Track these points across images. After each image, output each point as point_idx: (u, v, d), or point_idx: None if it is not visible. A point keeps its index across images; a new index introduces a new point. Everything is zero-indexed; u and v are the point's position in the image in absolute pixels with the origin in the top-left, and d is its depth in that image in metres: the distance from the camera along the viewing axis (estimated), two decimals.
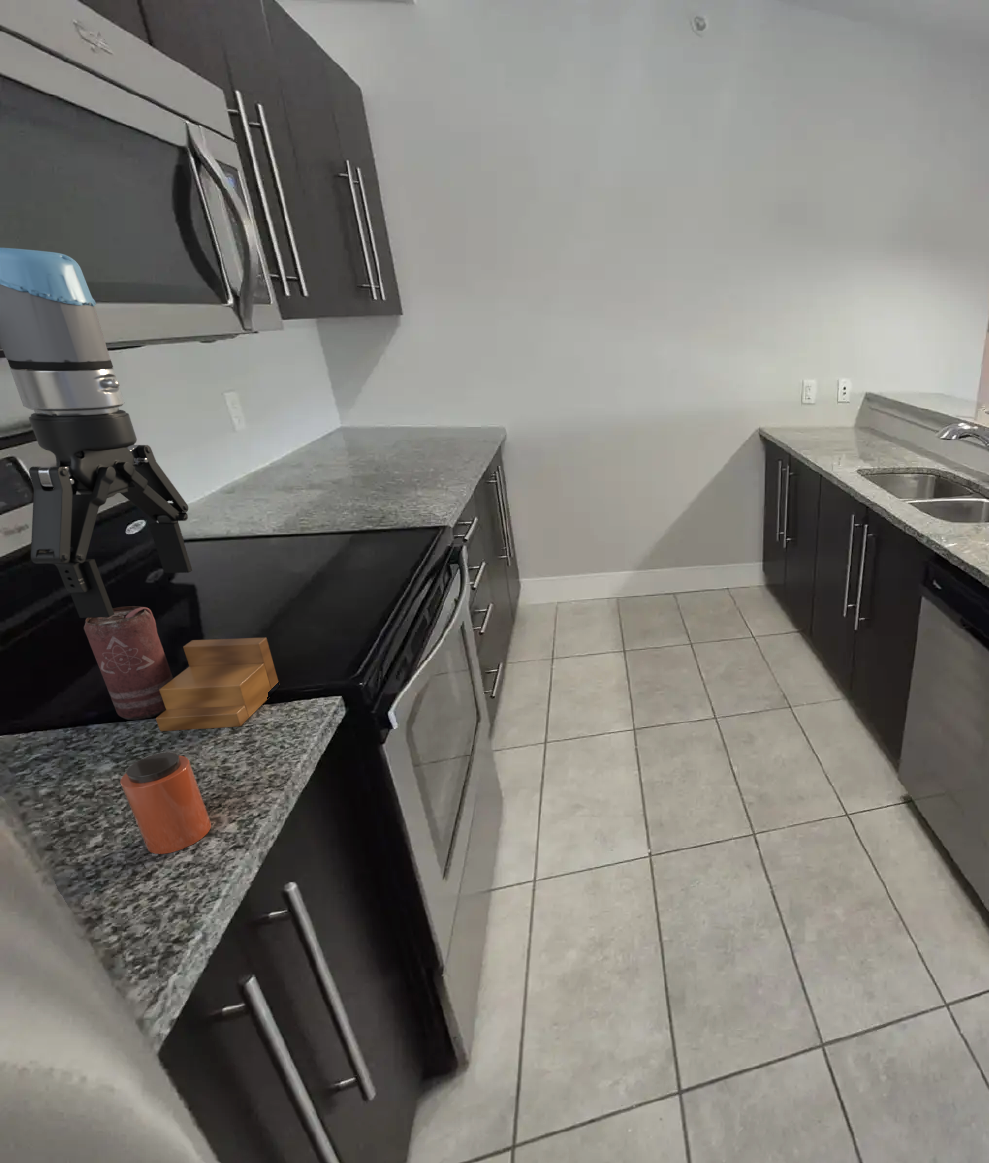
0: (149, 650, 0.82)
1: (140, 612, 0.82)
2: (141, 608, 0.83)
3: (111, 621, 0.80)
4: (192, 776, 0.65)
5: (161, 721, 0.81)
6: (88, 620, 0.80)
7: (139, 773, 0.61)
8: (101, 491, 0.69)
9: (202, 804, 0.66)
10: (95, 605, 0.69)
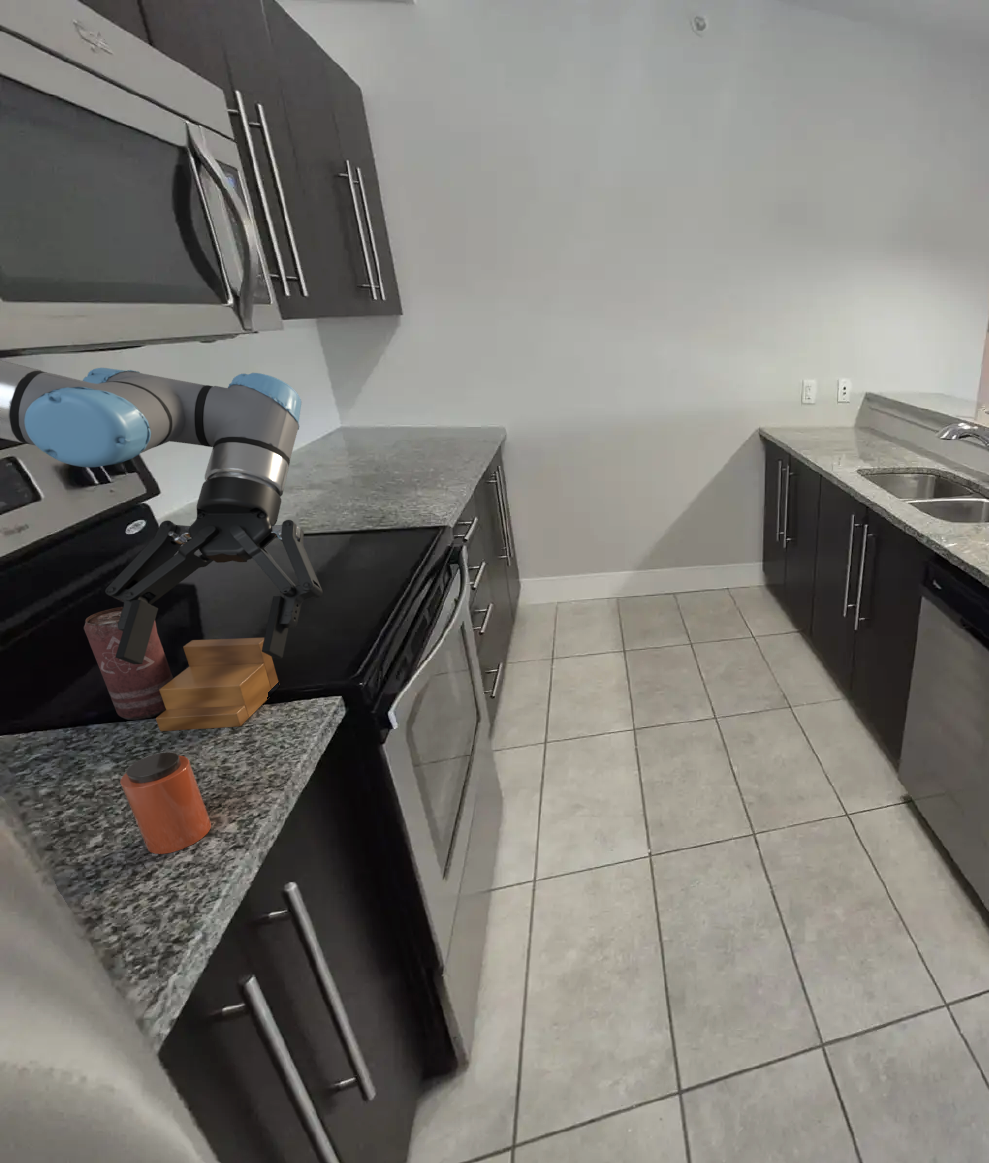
0: (149, 650, 0.82)
1: None
2: None
3: (111, 621, 0.80)
4: (192, 776, 0.65)
5: (161, 721, 0.81)
6: (88, 620, 0.80)
7: (139, 773, 0.61)
8: None
9: (202, 804, 0.66)
10: (280, 643, 0.72)
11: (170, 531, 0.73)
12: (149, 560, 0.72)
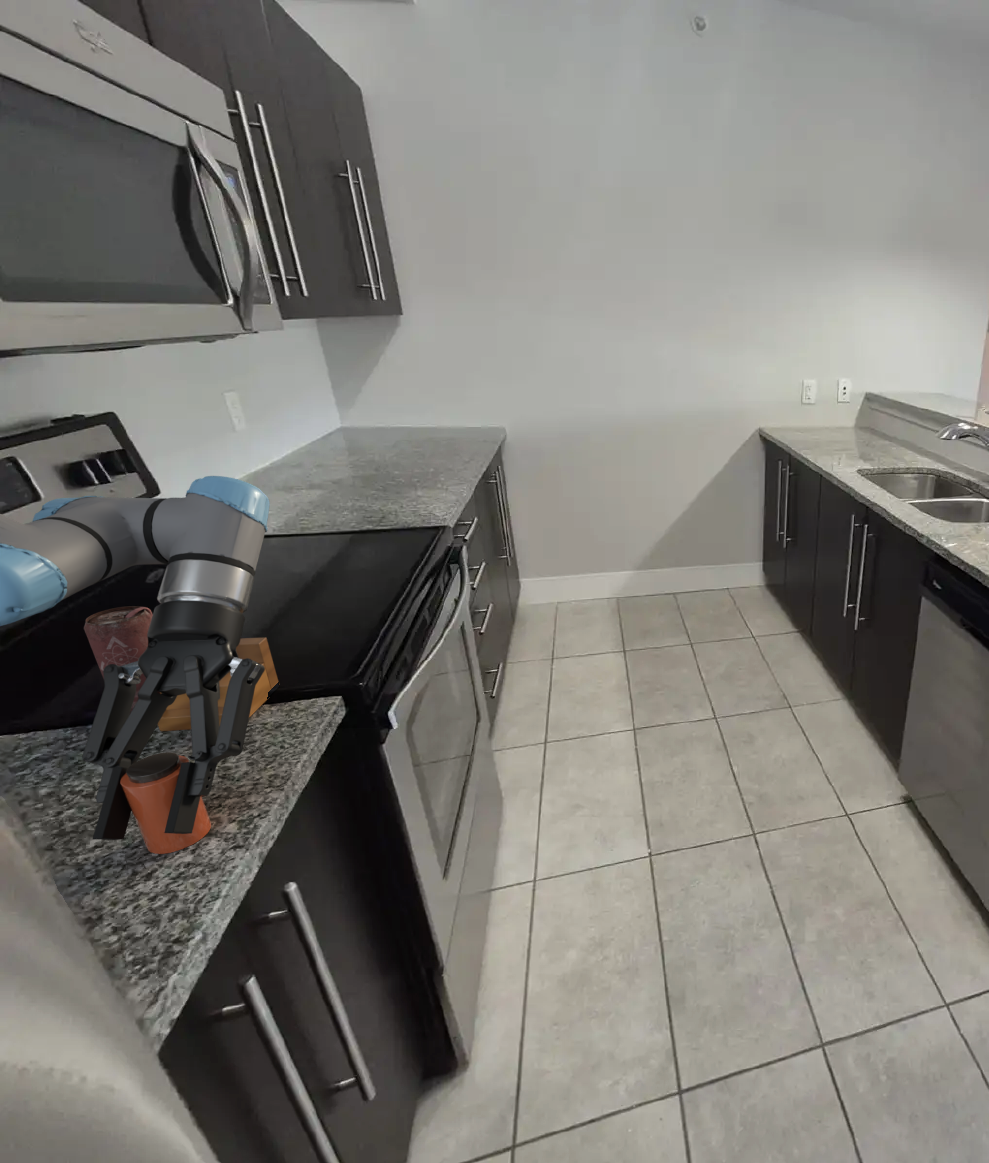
0: None
1: (140, 612, 0.82)
2: (141, 608, 0.83)
3: (111, 621, 0.80)
4: None
5: (161, 721, 0.81)
6: (88, 620, 0.80)
7: (139, 773, 0.61)
8: None
9: (202, 804, 0.66)
10: (190, 817, 0.63)
11: (119, 673, 0.65)
12: (113, 711, 0.64)
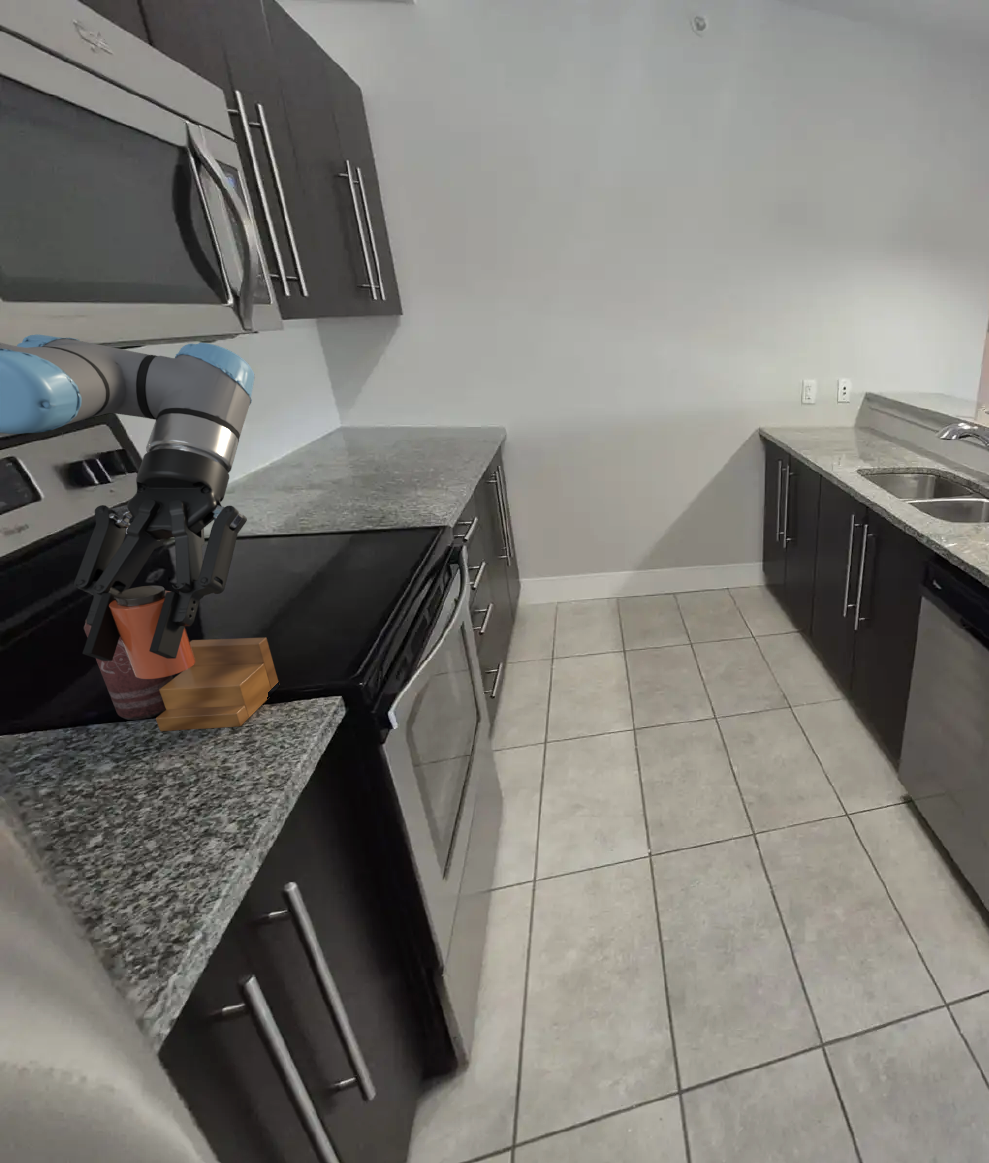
0: None
1: None
2: None
3: None
4: None
5: (161, 721, 0.81)
6: None
7: (126, 597, 0.66)
8: None
9: (186, 638, 0.70)
10: (173, 642, 0.67)
11: (109, 514, 0.70)
12: (103, 546, 0.68)
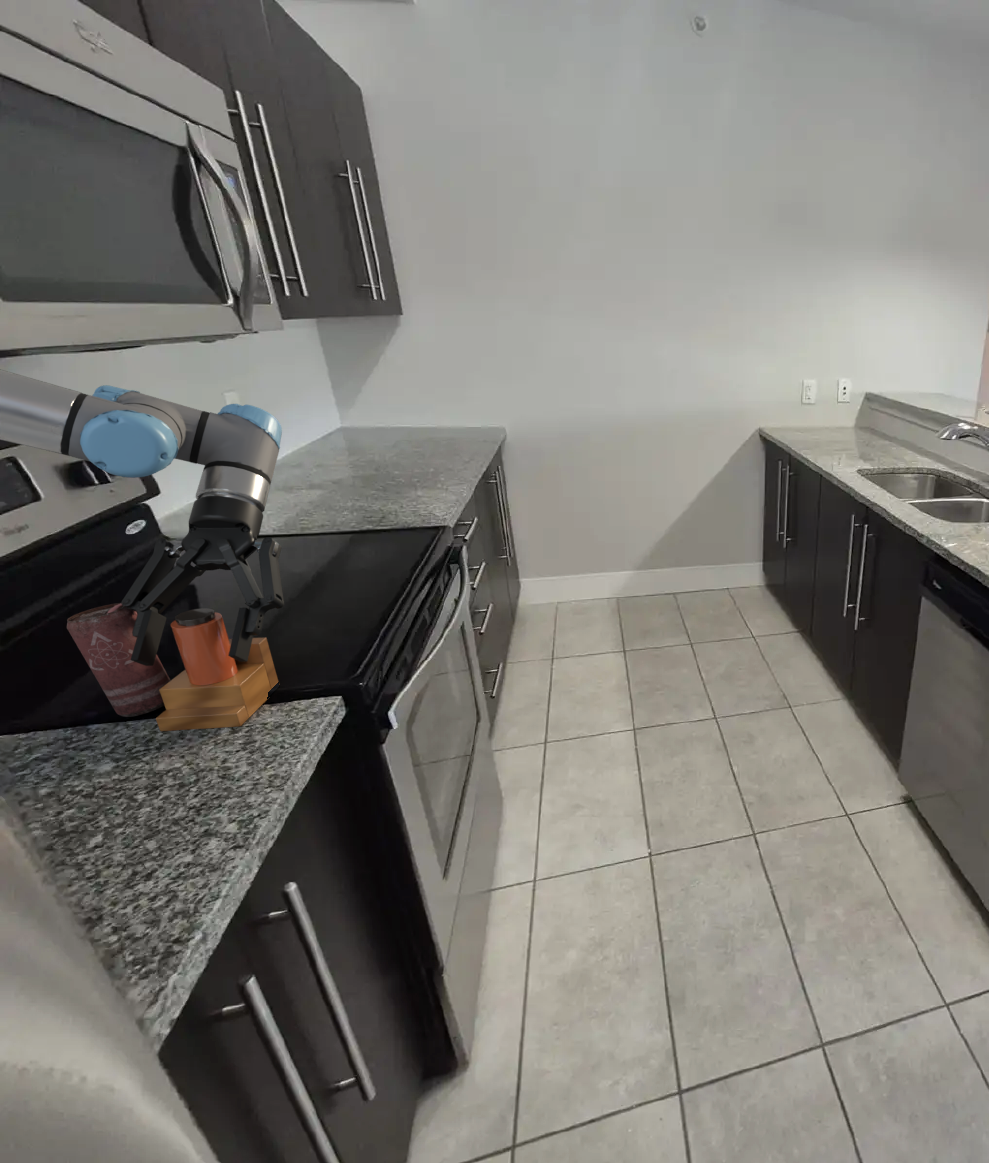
0: None
1: (121, 607, 0.82)
2: None
3: (92, 617, 0.80)
4: (224, 627, 0.84)
5: (161, 721, 0.81)
6: (70, 620, 0.80)
7: (185, 618, 0.80)
8: None
9: None
10: (246, 648, 0.83)
11: (166, 546, 0.85)
12: (153, 573, 0.83)
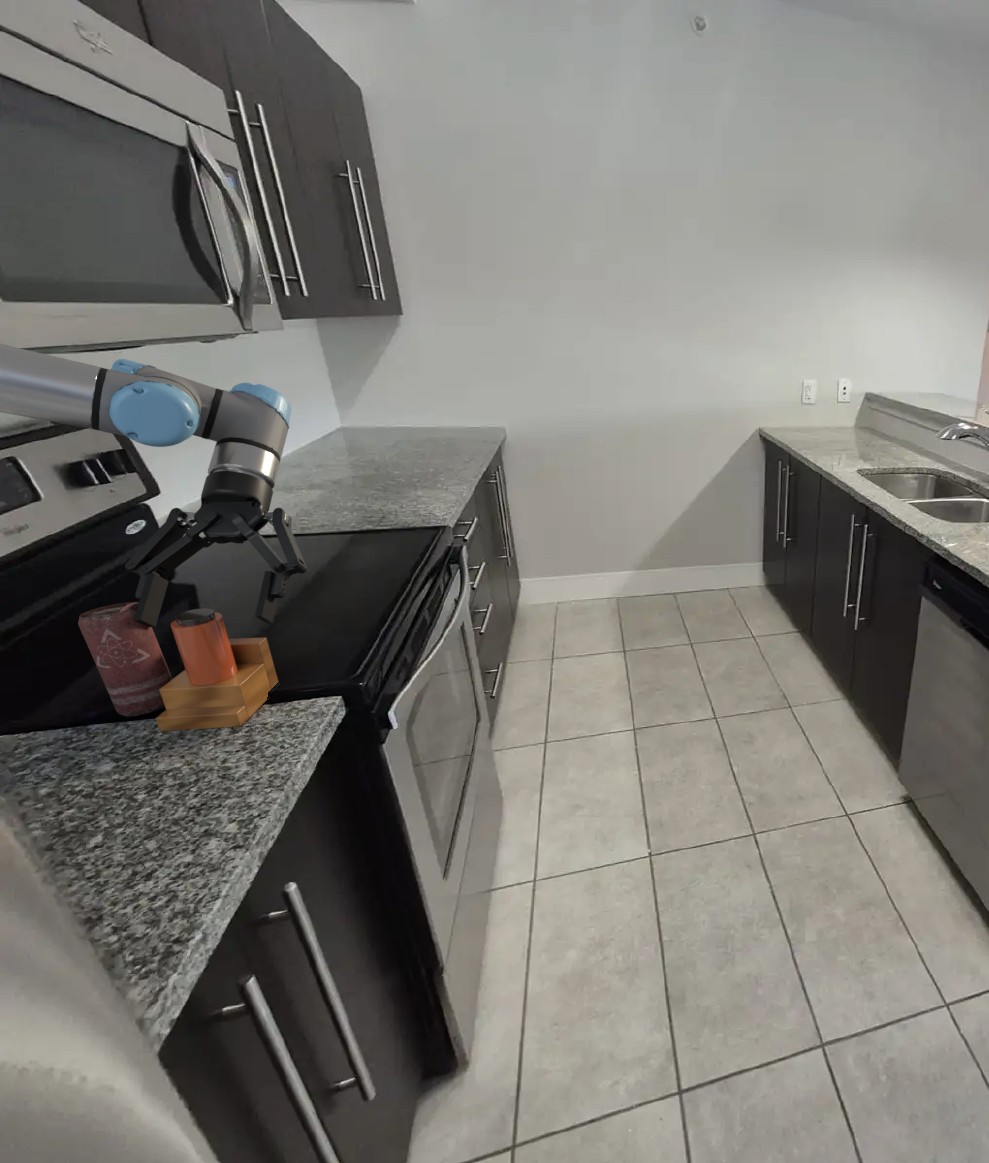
0: (144, 643, 0.83)
1: (133, 607, 0.83)
2: (134, 603, 0.83)
3: (104, 615, 0.80)
4: (224, 627, 0.84)
5: (161, 721, 0.81)
6: (82, 616, 0.80)
7: (185, 618, 0.80)
8: None
9: (231, 651, 0.85)
10: (271, 610, 0.86)
11: (179, 517, 0.87)
12: (161, 541, 0.86)
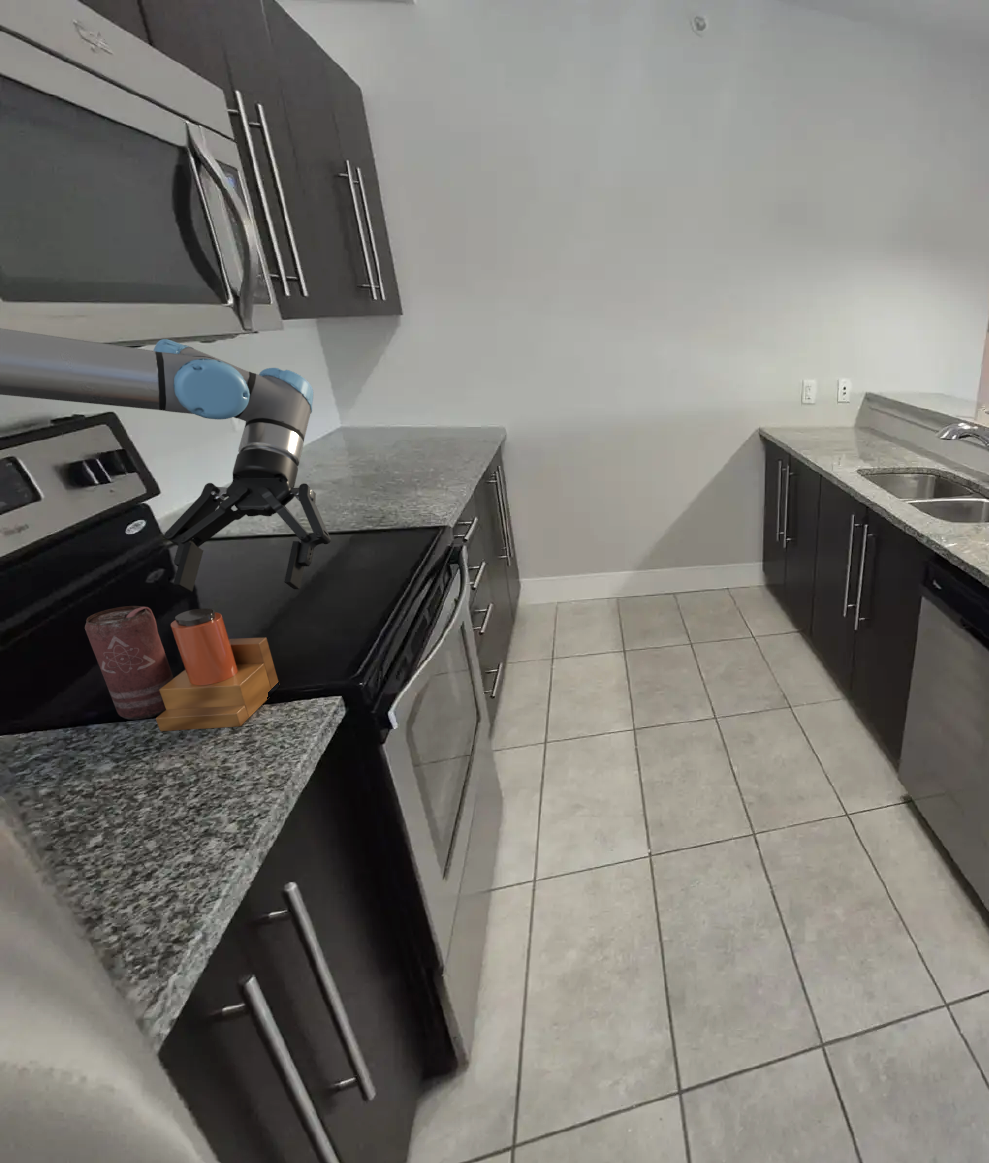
0: (150, 649, 0.82)
1: (141, 612, 0.82)
2: (142, 608, 0.83)
3: (112, 621, 0.80)
4: (224, 627, 0.84)
5: (161, 721, 0.81)
6: (89, 620, 0.80)
7: (185, 618, 0.80)
8: None
9: (231, 651, 0.85)
10: (298, 577, 0.93)
11: (212, 491, 0.94)
12: (196, 513, 0.93)
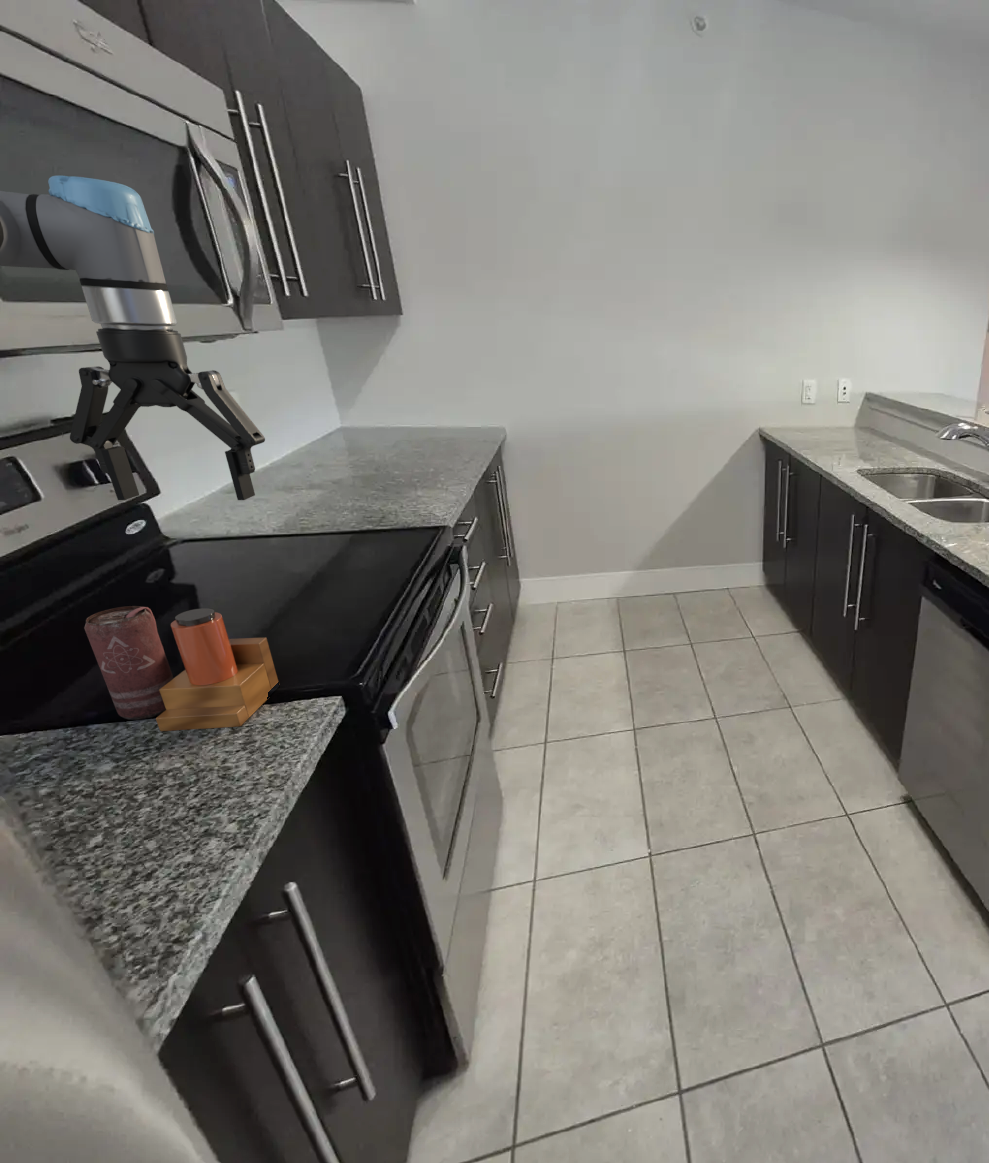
0: (150, 650, 0.82)
1: (140, 612, 0.82)
2: (141, 608, 0.83)
3: (112, 621, 0.80)
4: (224, 627, 0.84)
5: (161, 721, 0.81)
6: (88, 620, 0.80)
7: (185, 618, 0.80)
8: None
9: (231, 651, 0.85)
10: (249, 486, 0.87)
11: (93, 380, 0.78)
12: (91, 409, 0.79)
